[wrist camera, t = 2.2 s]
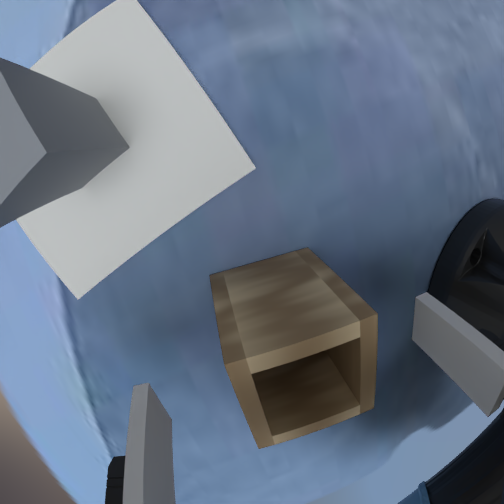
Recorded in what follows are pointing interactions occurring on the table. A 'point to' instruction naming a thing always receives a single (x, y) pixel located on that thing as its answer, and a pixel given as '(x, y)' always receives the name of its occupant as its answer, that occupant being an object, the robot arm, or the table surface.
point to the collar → (295, 345)
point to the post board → (157, 138)
